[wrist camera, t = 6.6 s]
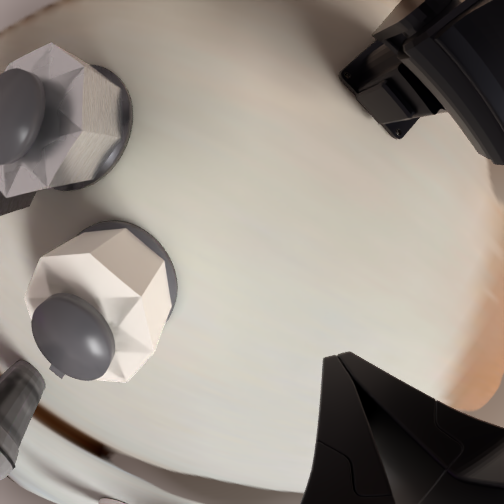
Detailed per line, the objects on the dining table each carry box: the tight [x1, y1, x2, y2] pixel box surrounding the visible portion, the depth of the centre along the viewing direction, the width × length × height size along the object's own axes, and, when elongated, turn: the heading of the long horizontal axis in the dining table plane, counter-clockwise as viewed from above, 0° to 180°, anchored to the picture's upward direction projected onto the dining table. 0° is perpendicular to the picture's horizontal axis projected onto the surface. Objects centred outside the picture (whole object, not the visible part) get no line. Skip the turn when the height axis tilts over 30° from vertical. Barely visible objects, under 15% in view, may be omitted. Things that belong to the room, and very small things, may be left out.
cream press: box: [24, 221, 177, 383], centre depth 17 cm, size 12×9×6 cm
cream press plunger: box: [32, 293, 115, 381], centre depth 15 cm, size 5×5×6 cm
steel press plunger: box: [0, 68, 46, 165], centre depth 11 cm, size 5×5×6 cm
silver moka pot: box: [0, 42, 133, 216], centre depth 14 cm, size 12×9×6 cm
